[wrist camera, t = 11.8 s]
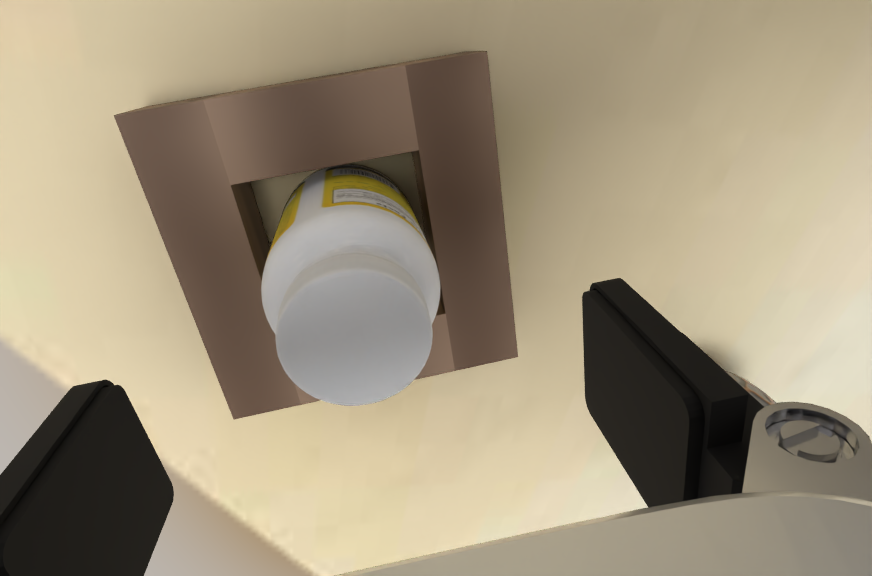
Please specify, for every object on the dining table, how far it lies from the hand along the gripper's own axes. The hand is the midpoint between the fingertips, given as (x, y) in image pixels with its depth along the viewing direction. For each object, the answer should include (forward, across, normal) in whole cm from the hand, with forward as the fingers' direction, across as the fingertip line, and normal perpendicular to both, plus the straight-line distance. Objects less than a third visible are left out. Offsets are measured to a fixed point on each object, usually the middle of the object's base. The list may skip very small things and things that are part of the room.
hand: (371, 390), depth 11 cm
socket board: (+12, +1, +1) cm, 13 cm away
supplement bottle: (+13, +1, +1) cm, 13 cm away
